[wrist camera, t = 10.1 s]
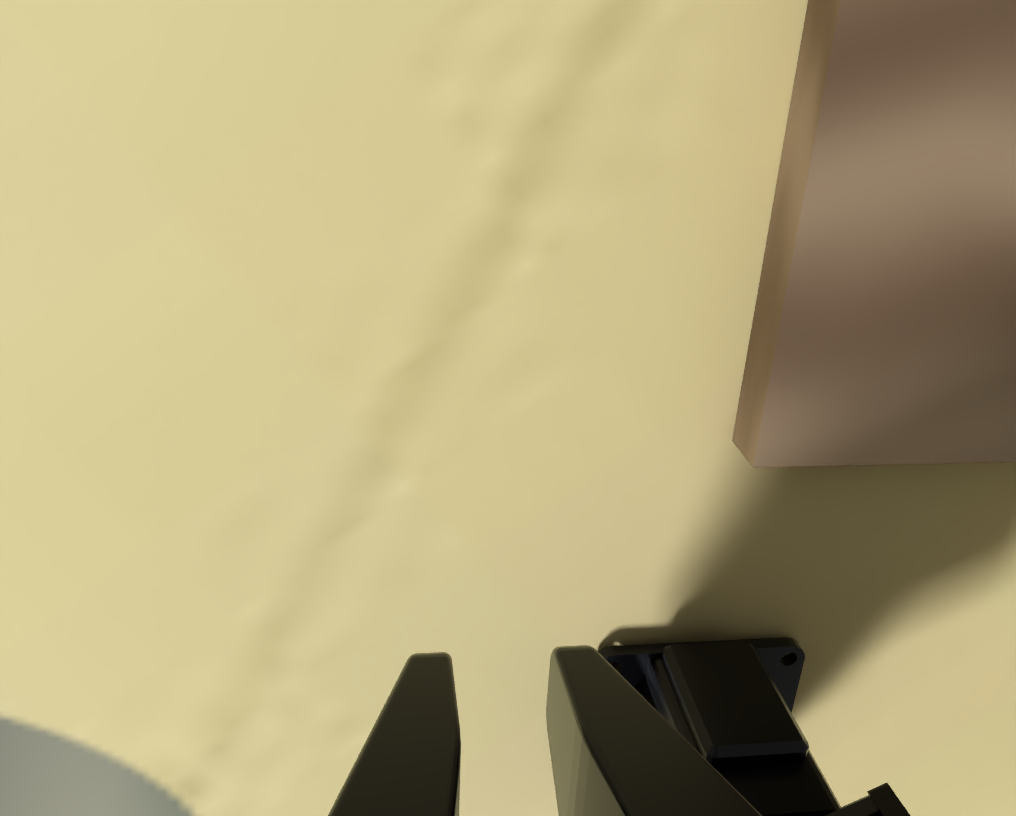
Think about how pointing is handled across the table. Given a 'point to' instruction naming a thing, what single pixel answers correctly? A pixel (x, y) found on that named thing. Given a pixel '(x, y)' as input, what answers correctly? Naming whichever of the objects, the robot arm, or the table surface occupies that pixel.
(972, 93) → the board
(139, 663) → the table surface
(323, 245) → the table surface
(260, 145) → the table surface
